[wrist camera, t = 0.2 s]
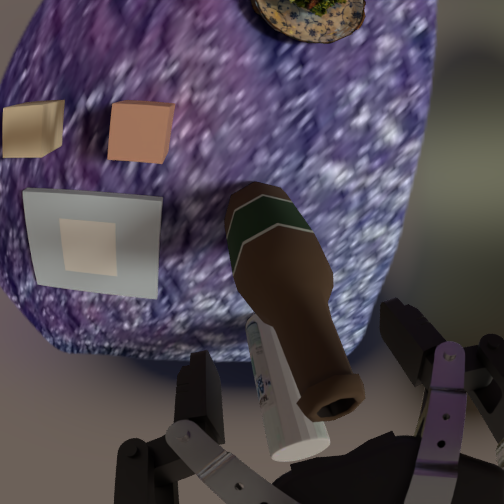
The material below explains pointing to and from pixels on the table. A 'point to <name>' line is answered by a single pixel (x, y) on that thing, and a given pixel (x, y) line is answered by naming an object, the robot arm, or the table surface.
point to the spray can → (281, 398)
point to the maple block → (32, 128)
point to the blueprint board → (94, 240)
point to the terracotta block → (140, 131)
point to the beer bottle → (291, 296)
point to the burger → (312, 18)
